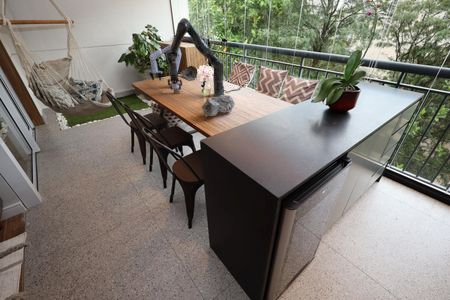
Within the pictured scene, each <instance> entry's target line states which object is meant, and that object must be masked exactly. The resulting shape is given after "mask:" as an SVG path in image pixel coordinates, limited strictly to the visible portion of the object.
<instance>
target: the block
mask: <svg viewBox="0 0 450 300" xmlns="http://www.w3.org/2000/svg"><path fill="white" fill-rule="evenodd" d="M172 90H173V94H174V95H179V93H180V90H179V88H174V89H172Z"/></svg>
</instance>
